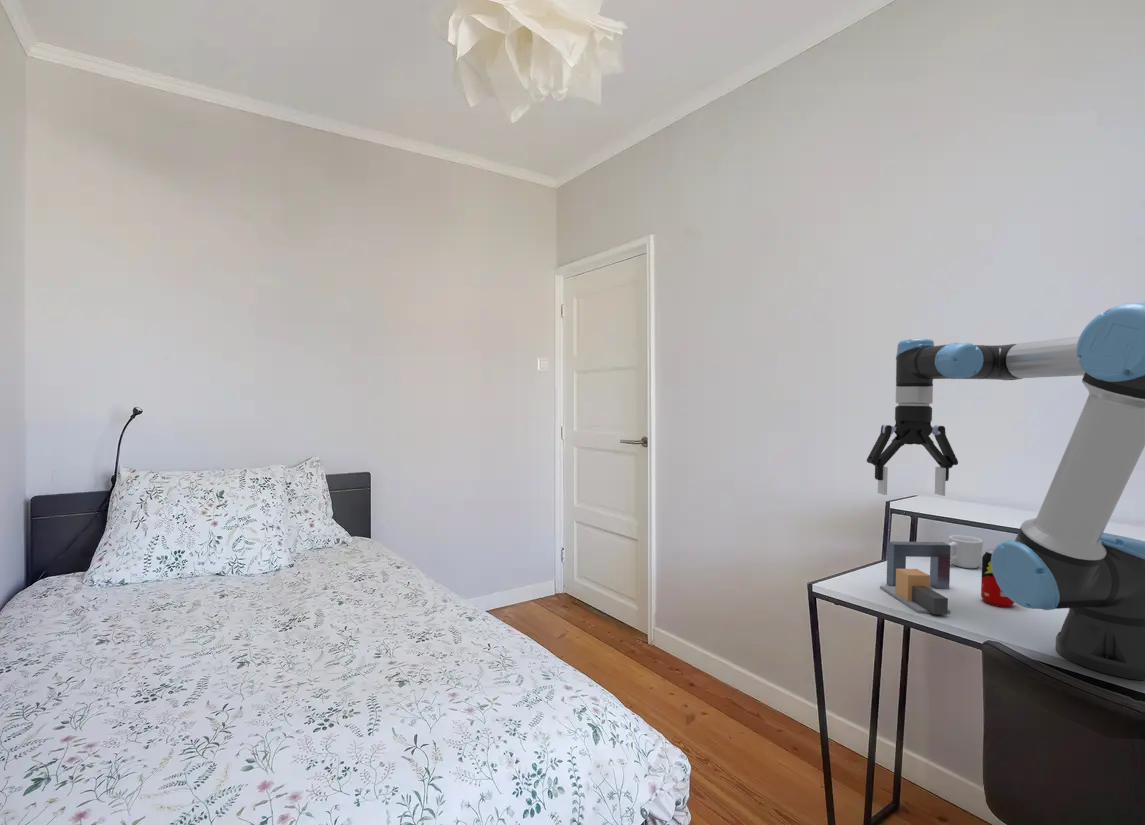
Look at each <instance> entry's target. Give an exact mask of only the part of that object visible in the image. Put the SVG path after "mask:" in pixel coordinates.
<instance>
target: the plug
mask: <svg viewBox="0 0 1145 825" xmlns="http://www.w3.org/2000/svg"><path fill="white" fill-rule="evenodd" d="M930 587H931V585H930V574H928V573H927V572H924V571H922V570H920V569H918V568H906V569H896V590H895V593H896V594H897V595H899V596H901V597H902V598H904V599H905V600H907V601H913V602H915V603H916V604H918V605H919V606H921V607H923V608H924V609H926V610H928V611H929V612H931V613H930V614H933V615H948V610H949V608H948V607H949V598H948V597H946V596H945V595H942V594H940V593H939V592H937V591H936V590H933V589H932V588H930Z"/></svg>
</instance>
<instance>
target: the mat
mask: <svg viewBox="0 0 1145 825" xmlns="http://www.w3.org/2000/svg"><path fill="white" fill-rule="evenodd" d="M879 589H881V590H882V591H884V592H885V593H886V594H888V595H889V596H890V597H892V598H895V599H896V600H897V601H899V602H901V603H902V604H904V605H905V606H906V607H908V608H910V609H911V608H912V609H911V610H913V611H914V612H916V613H918V614H932V613H931V612H929V611H928V610H926V609H924V608H923V607H921V606H919V605H918V604H916V603H915V602H913V601H907V600H905V599H904V598H902V597H901V596H899V595H897V594H896V593H895V590H896V586H889V585H881V586H879ZM948 614H949V615H950V614H951V610H950V609H948ZM948 614H947V615H948Z"/></svg>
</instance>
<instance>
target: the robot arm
mask: <svg viewBox="0 0 1145 825" xmlns="http://www.w3.org/2000/svg"><path fill="white" fill-rule="evenodd" d="M896 349H897V350H896V356H895V362H896V363H895V365H896V366H895V371H896V372H895V403H896V404H898V405H896V406H895V407H894V410H895V411H894V420H895V424H894V426H892V425H890V424H882V425H881V428H880V434H879V435H878V438H877V440H876V441H875V444H874V445H873V447H872V449H871V451H870V453H869V455H868V456H867V458H866V463H868V464H871V465H873V466H874V479H875V480H877V494H881V495H884V496H887V495H888V475H889V474H888V469H889V468H888V466H886V464H887V463H888V462H889V461H890V460H891V459H892V458H893V457H894V456H895V454H896V453H897V452H898V450H900V448H901V447H903V446H905V445H920V446H923V447H924V449H926V451H927V452H928V453H929V455H930V456H931V457H932V458H933V459H934V461H935V462H936V463H937V465H938V466H935V468H934V470H935V471H934V478H935V479H934V494H935V495H939V496H946V482H948V481H949V479H950V478H949V476H950V469H952V468H953V466H957V465H959V460H958V459H957V456H956V454H955V452H954V450H953V448H952V446H951V443H950V441H949V440H948V437H947V435H946V427H945V426H944V425H934V426H932V421H933V407H932V406H930V405H931V404H933V398H934V396H933V395H934V394H933V392H934V391H933V390H934V389H933V388H934V383H933V382H934V380H950V379H951V380H998V381H999V380H1001V381H1016V380H1022V379H1032V378H1033V379H1034V378H1054V377H1055V378H1057V377H1059V378H1061V377H1075V376H1076V377H1077V376H1080V377H1081V376H1082V380H1081V383H1083V386H1084V387H1085V388H1086V389H1087V391H1088V396H1087V398H1086V400H1085V403H1084V406H1083V407H1082V410H1081V412H1080V415H1079V417H1078V419H1077V423H1076V424H1075V427H1074V428H1073V432H1072V434H1071V436H1070V439H1069V441H1068V443H1067V446H1066V447H1065V450H1064V452H1063V455H1062V457H1061V460H1060V462H1059V465H1058V467H1057V468H1056V472H1055V474H1054V475H1053V478H1052V481H1051V483H1050V485H1049V488H1048V490H1047V491H1046V495H1045V497H1044V499H1043V502H1042V505H1041V506H1040V508H1039V511H1038V513H1037V515H1036V517H1035V518H1031V519H1028V520H1027V519H1026V520H1025V521H1023V522H1022V523H1021V526H1020V527H1019V531H1018V532H1017V535H1016V537H1015V539H1014V540H1012V539H1011V540H1006V541H1003V542H1001V543H999V544H997V545H996V546H995V547H994V548H993V549H994V550H993V553H992V556H991V568H992V572H993V575H994V577H995V579H996V582H997V584H998V586H999V587H1000V589H1001V590H1002V591H1003V593H1004V594H1005V595H1006V596H1007V597H1008V598H1010V599H1011V600H1012V601H1013V602H1014V604H1017V605H1018V606H1021V607H1022V608H1026V609H1030V610H1031V609H1032V610H1043V611H1051V610H1059V609H1068V612H1067V614H1066V616H1065V619H1064V620H1063V623H1062V626H1061V629H1060V631H1059V632H1058V633H1057V634H1056V636H1055V650H1056V652H1057V653H1058V654H1059V655H1060V656H1062V657H1063V658H1065V659H1067V660H1069V661H1071V662H1073V663H1074V664H1077V665H1079V666H1083V667H1085V668H1088V669H1090V670H1094V671H1097V672H1100V673H1103V674H1106V675H1110V676H1115V677H1118V678H1124V679H1129V680H1136V681H1143V680H1145V540H1141V539H1136V538H1133V537H1128V536H1123V535H1117V534H1114V533H1113V534H1112V533H1107V532H1105V529H1106V527H1107V525H1108V523H1109V521H1110V520H1111V517H1112V516H1113V515H1112V514H1113V513H1114V511H1115V509H1116V508H1117V507H1116V506H1117V504H1118V502H1119V501H1120V498H1121V496H1122V494H1123V492H1124V490H1125V488H1126V486H1127V484H1128V482H1129V480H1130V477H1131V476H1132V473H1133V471H1134V470H1135V467H1136V465H1137V464H1138V461H1139V459H1140V457H1141V455H1142V453H1143V451H1144V448H1145V301H1141V302H1129V303H1123V304H1119V305H1115V306H1113V307H1111V308H1109V309H1107V310H1105V311H1102V312H1101V313H1099V314H1097V315H1096V316H1095V317H1094V318H1092V319H1091V320H1090V321H1089V323H1088V324H1086V326H1085V327H1084V329H1083V330H1082V332H1081V333H1080V335H1079V336H1071V337H1062V338H1054V339H1047V340H1037V341H1029V342H1020V343H1013V344H1012V343H1011V344H1002V345H1000V344H999V345H996V344H995V345H983V344H980V345H979V344H973V343H970V342H951V343H948V344H942V345H935V342H934V340H933V339H931V338H911V339H909V338H907V339H903V340H902V339H901V340H900V341H899V342H898V343H897V348H896ZM893 434H895V436H894V438H893V439H892V440H891V442H890V443H889V445H888V446H887V444H888V442H889V441H890V438H891V435H893ZM931 434H932V435H933V436H934V439H935V440H936V443H937V445H938V447H937V446H936V444H935V443H934V441H933V440H932V438H931V436H930V435H931ZM886 446H887V447H886ZM939 449H940V450H939Z"/></svg>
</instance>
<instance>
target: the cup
mask: <svg viewBox="0 0 1145 825" xmlns="http://www.w3.org/2000/svg"><path fill="white" fill-rule="evenodd" d="M948 542H949V543H947V544H949V545H951V548H950V562H951V563H952V565H954V566H956V567H959V568H964V569H976V568H979V566H980V563H981V560H982V552H983V551H982V550H983V545H984V544H983V543H984V541H983V539H981V538H979V537H975V536H970V535H969V536H968V535H962V534H952V535H949V537H948Z"/></svg>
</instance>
